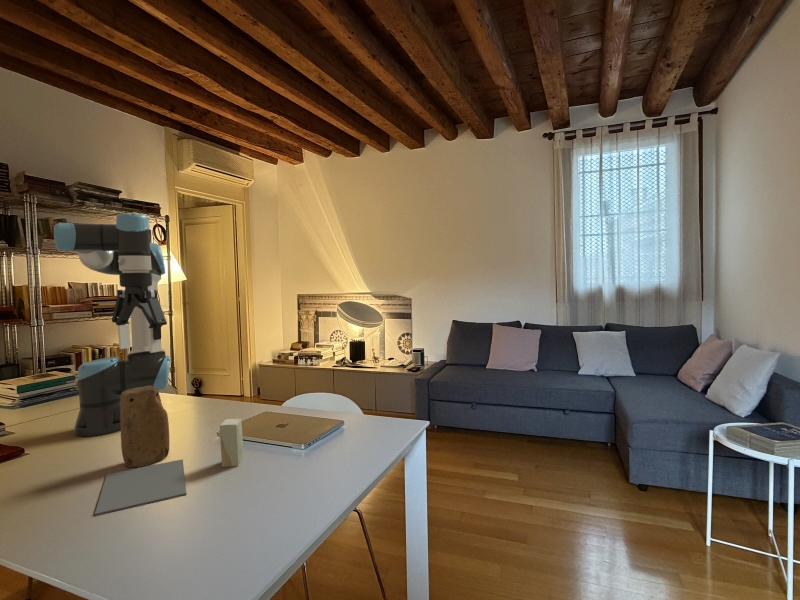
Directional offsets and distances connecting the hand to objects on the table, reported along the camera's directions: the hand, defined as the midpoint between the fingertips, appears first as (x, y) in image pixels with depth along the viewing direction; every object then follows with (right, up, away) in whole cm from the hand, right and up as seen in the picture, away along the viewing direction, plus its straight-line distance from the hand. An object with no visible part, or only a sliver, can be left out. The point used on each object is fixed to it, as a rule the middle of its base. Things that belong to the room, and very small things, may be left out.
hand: (140, 350), depth 120 cm
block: (+3, -30, -2) cm, 30 cm away
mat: (+10, -30, -16) cm, 36 cm away
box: (+27, -29, -5) cm, 40 cm away
